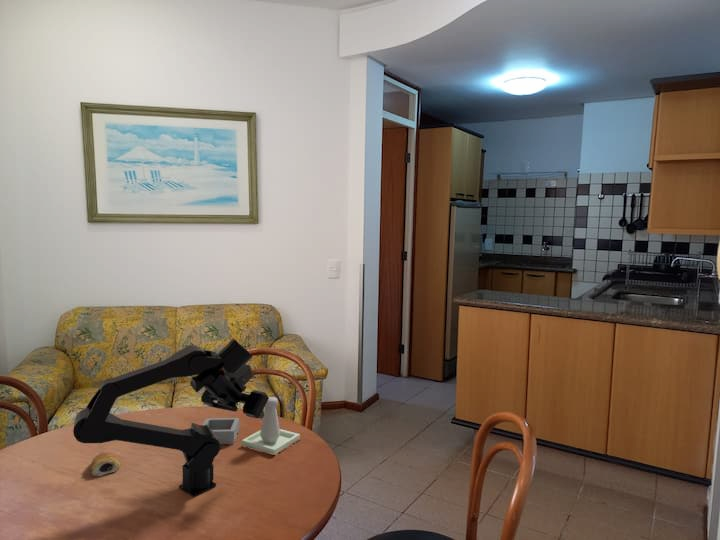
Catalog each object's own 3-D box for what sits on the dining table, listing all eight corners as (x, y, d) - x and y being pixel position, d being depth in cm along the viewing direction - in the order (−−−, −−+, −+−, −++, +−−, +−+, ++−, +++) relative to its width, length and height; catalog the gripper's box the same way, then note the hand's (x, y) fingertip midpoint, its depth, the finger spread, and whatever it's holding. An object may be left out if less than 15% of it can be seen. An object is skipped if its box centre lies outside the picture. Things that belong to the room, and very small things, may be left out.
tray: (274, 456, 135) (274, 449, 135) (241, 446, 141) (241, 440, 141) (300, 440, 146) (300, 434, 145) (268, 431, 151) (268, 425, 151)
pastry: (89, 463, 130) (89, 449, 129) (117, 457, 133) (117, 444, 133) (92, 478, 122) (91, 464, 121) (121, 472, 125) (121, 458, 125)
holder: (233, 444, 142) (233, 431, 142) (198, 445, 141) (198, 431, 141) (239, 430, 152) (239, 417, 152) (206, 430, 151) (206, 418, 151)
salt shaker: (261, 446, 139) (261, 402, 138) (258, 438, 145) (258, 395, 143) (281, 443, 141) (282, 400, 140) (278, 435, 147) (278, 394, 145)
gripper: (264, 362, 120) (290, 392, 131) (209, 351, 129) (238, 381, 139) (242, 402, 114) (271, 431, 124) (185, 388, 123) (218, 416, 133)
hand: (249, 413), depth 130 cm, fingers open, 9 cm apart
